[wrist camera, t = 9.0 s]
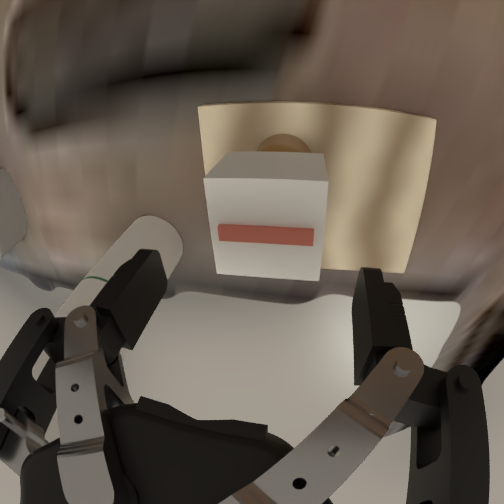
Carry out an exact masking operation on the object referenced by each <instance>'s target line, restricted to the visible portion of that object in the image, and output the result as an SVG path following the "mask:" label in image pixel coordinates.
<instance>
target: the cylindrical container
mask: <svg viewBox="0 0 504 504" xmlns="http://www.w3.org/2000/svg"><path fill="white" fill-rule="evenodd" d="M139 249H153V250H158V251H159V253H160V256H161V259H162V263H163V266H164V270H165V273H166V277H167V280H168V279H169V277H170V275H171V273H172V272H173V270H174V269H175V267H176V265H177V264H178V262H179V260H180V259H181V257H182V254H183V243H182V240H181V237H180V235H179V234H178V232H177V231H176V229H175V228H174V227H173V226H172V225H171V224H169V223H168V222H167V221H165V220H163V219H161V218H159V217H156V216H149V215H148V216H142V217H139V218H138V219H136V220H135V221H134V222H133V223H132V224H131V225H130V227H129V228H128V229H127V230H126V231H125V232H124V233H123V234H122V235H121V236H120V237H119V238H118V239H117V240H116V242H115V243H114V244H113V245H112V246H111V247H110V248H109V249H108V250H107V252H106V253H105V254H104V255H103V256H102V257H101V258H100V260H99V261H98V262H97V263H96V264H95V265H94V267H93V268H92V269H91V270H90V271H89V272H88V274H87V275H86V276H85V277H84V278H83V280H82V281H81V282H80V283H79V285H78V286H77V287H76V288H75V289H74V291H73V292H72V293H71V295H70V296H69V297H68V298H67V300H66V301H65V302H64V304H63V305H62V306H61V308H60V309H59V310H58V311H57V313H56V314H55V316H54V317H67V316H68V314H69V313H70V312H71V311H72V310H74V309H75V308H77V307H80V306H84V305H87V306H89V305H90V304H91V303H92V301H93V300H94V299H95V297H96V296H97V295H98V293H99V292H100V291H101V290H102V288H103V287H104V286H105V284H106V283H107V282H108V281H109V279H110V278H111V277H112V276H114V273H115V272H116V270H117V269H118V268H119V267H120V266H121V265H122V264H124V263H125V262H126V261H128V260H129V259H132V258H133V256H134V255H135V254H136V253H137V251H138V250H139ZM128 350H129V349H126V348H121V350H120V354H121V357H122V361H123V360H124V358H125V356H126V354H127V352H128ZM48 359H49V356H48V355H47V354H46V353H45V351H44V350H43V351H42V353H41V355H40V356H39V358H38V360H37V361H36V363H35V365H34V366H33V369H32V375H33V378H34V379H35V380H36V381H37V379H38V377H39V375H40V373H41V372H42V370H43V368H44V366H45V365H46V363H47V361H48ZM59 437H60V435H59V426H58V416H57V409H56V411H55V413H54V415H53V418H52V420H51V422H50V424H49V426H48V429H47V431H46V433H45V439H46V440H47V441H48V442H49V443H50V442H52V441H54V440H56V439H58V438H59Z"/></svg>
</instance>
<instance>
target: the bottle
mask: <svg viewBox="0 0 504 504" xmlns="http://www.w3.org/2000/svg"><path fill="white" fill-rule="evenodd" d="M256 151H261V152H302V153H311V152H310V150H309V148H308V146H307V145H306V144H305V143H304V142H303V141H302V140H301V139H299V138H298V137H296V136H293V135H290V134H276V135H272V136H270V137H268V138H267V139H265V140H264V141H263V142H262V143H261V144H260V146H259V147H258V149H257V150H256Z"/></svg>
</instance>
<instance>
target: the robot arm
mask: <svg viewBox="0 0 504 504" xmlns="http://www.w3.org/2000/svg"><path fill="white" fill-rule="evenodd" d="M166 289H167V277H166V273H165V270H164V266H163V263H162V259H161V256H160V253H159V251H158V250H153V249H139V250H138V251H137V253H136V254H135V255H134V256H133V258H132V259H129V260H128V261H126V262H125V263H124V264H122V265H121V266H120V267H119V268H118V269H117V270H116V272H115V273H114V276H112V277H111V278H110V279H109V281H108V282H107V283H106V284H105V286H104V287H103V288H102V290H101V291H100V292H99V293H98V295H97V296H96V297H95V299H94V300H93V301H92V303H91V304H90V305H89V306H87V305H84V306H80V307H77V308H75V309H74V310H72V311H71V312H70V313H69V314H68V316H67V317H54V315H53V313H52V312H51V311H50V309H48V308H41V309H38V310H36V311H35V312H34V313H32V314H31V315H30V317H29V318H28V320H27V321H26V322H25V324H24V325H23V327H22V328H21V330H20V331H19V332H18V334H17V335H16V337H15V339H14V340H13V341H12V343H11V344H10V346H9V348H8V349H7V351H6V352H5V354H4V356H3V357H2V359H1V360H0V460H1V461H3V462H4V463H5V464H6V465H7V466H8V467H9V468H11V469H12V470H13V471H14V472H16V473H17V474H18V475H19V476H20V486H21V500H20V501H21V502H20V504H333V503H332V502H331V500H330V499H329V497H330V496H331V495H332V494H333V493H334V492H335V491H336V490H337V489H338V488H339V487H340V486H341V485H342V484H343V483H344V482H345V481H346V480H347V478H348V477H349V476H350V475H351V474H352V473H353V472H354V471H355V470H356V469H357V467H358V466H359V465H360V464H361V463H362V462H363V461H364V460H365V458H366V457H367V456H368V455H369V454H370V453H371V451H372V450H373V449H374V448H375V446H376V445H377V444H378V443H379V441H380V440H381V439H382V438H383V436H384V435H385V434H386V432H387V431H388V429H389V426H390V424H391V423H392V422H393V421H396V422H400V423H403V424H407V425H410V426H411V454H410V471H409V482H408V492H407V501H406V504H488V503H489V478H490V472H489V471H490V468H489V467H490V466H489V442H488V430H487V421H486V412H485V405H484V399H483V393H482V387H481V382H480V378H479V376H478V375H477V373H476V372H475V371H474V370H473V369H472V368H470V367H468V366H465V365H457V366H454V367H453V368H451V369H450V371H449V372H448V373H447V372H444V371H440V370H437V369H434V368H430V367H428V366H426V365H424V364H423V361H422V359H421V358H420V356H419V355H418V354H417V353H416V352H414V351H413V349H412V345H411V339H410V334H409V329H408V325H407V320H406V316H405V311H404V307H403V306H402V305H403V303H402V299H401V295H400V292H399V291H398V290H397V288H396V287H395V286H394V284H393V283H387V282H384V280H383V275H382V271H381V269H380V268H370V267H361V268H360V271H359V275H358V280H357V284H356V288H355V292H354V296H353V303H352V323H353V345H354V385H360V386H359V387H358V388H357V390H356V391H355V392H354V393H353V394H352V396H350V397H349V398H348V399H345V400H344V401H343V402H341V403H340V404H339V405H338V406H337V407H336V409H335V410H334V411H333V412H332V413H331V414H330V415H329V416H328V417H327V418H326V419H325V420H324V421H323V422H322V423H321V424H320V425H319V426H318V427H317V428H316V429H315V430H314V431H312V432H311V433H310V434H309V435H308V436H307V437H306V438H305V439H304V440H303V441H302V442H301V443H300V444H299V445H297V446H296V447H295V448H293V447H292V446H291V445H290V444H288V443H287V442H286V441H284V440H283V439H281V438H279V437H277V436H275V435H273V434H270V433H268V425H263V424H256V423H250V422H244V421H238V420H196V419H193V418H192V417H190V416H188V415H186V414H184V413H182V412H181V411H179V410H177V409H175V408H173V407H172V406H170V405H168V404H165V403H162V402H158V401H154V400H152V399H149V398H145V397H142V396H141V397H140V399H139V401H138V403H134V402H133V400H132V398H131V396H130V393H129V390H128V386H127V381H126V377H125V372H124V367H123V362H122V357H121V354H120V350H121V348H126V349H129V350H133V348H134V346H135V345H136V343H137V341H138V339H139V337H140V335H141V334H142V332H143V330H144V328H145V327H146V324H147V323H148V321H149V320H150V318H151V316H152V314H153V313H154V311H155V309H156V307H157V306H158V304H159V302H160V300H161V299H162V297H163V295H164V294H165V292H166ZM43 350H44V351H45V353H46V354H47V355H48V356H49V359H48V361H47V363H46V365H45V366H44V368H43V370H42V372H41V373H40V375H39V377H38V379H37V381H36V380H35V379H34V378H33V375H32V369H33V366H34V365H35V363H36V361H37V360H38V358H39V356H40V355H41V353H42V351H43ZM56 409H57V416H58V426H59V435H60V437H59V438H58V439H56V440H54V441H52V442H50V443H49V442H48V441H47V440H46V439H45V433H46V431H47V429H48V426H49V424H50V422H51V420H52V418H53V415H54V413H55V411H56Z"/></svg>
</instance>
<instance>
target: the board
mask: <svg viewBox="0 0 504 504" xmlns="http://www.w3.org/2000/svg"><path fill="white" fill-rule="evenodd" d="M198 114H199V124H200V133H201V142H202V151H203V159H204V168H205V176H206V175H207V174H208V173H209V172H210V170H211V169H212V168H213V167H214V166H215V165H216V164H217V163H218V162H219V161H220V160H221V159H222V157H223V156H224V155H225V154H226V153H227V152H246V151H256V150H257V149H258V147H259V146H260V144H261V143H262V142H263V141H264V140H265V139H267V138H268V137H270V136H272V135H276V134H290V135H293V136H296V137H298V138H299V139H301V140H302V141H303V142H304V143H305V144H306V145H307V146H308V148H309V150H310V152H311V153H321V154H324V159H325V165H326V170H327V176H328V195H327V208H326V220H325V231H324V241H323V251H322V260H321V268H323V269H340V270H357V271H360V268H361V267H370V268H380V269H381V271H382V272H393V273H404V272H405V269H406V266H407V262H408V259H409V256H410V252H411V249H412V246H413V242H414V238H415V235H416V231H417V227H418V223H419V219H420V215H421V211H422V206H423V202H424V197H425V192H426V188H427V182H428V177H429V172H430V166H431V160H432V153H433V146H434V138H435V130H436V119H433V118H431V117H428V116H423V115H418V114H413V113H408V112H402V111H396V110H389V109H382V108H375V107H367V106H358V105H348V104H337V103H322V102H298V101H257V102H233V103H218V104H206V105H202V106H199V107H198Z"/></svg>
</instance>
